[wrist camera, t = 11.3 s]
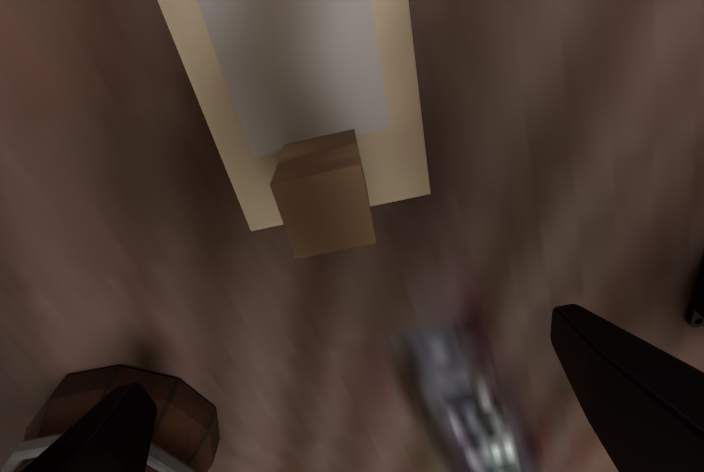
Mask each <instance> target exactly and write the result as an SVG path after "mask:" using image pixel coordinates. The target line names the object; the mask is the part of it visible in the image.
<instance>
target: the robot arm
mask: <svg viewBox="0 0 704 472" xmlns="http://www.w3.org/2000/svg"><path fill="white" fill-rule="evenodd" d="M685 321H686V322H687V323H688V324H690V325H691V326H692V327H699V326H704V263H703V266H702V269H701V272H700V275H699V278H698V281H697V284H696V287H695V290H694V293H693V296H692V300H691V303H690V306H689V309H688V312H687V315H686V318H685ZM551 342H552V345H553V348H554V350H555V352H556V354H557V356H558V358H559V360H560V363H561V365H562V367H563V369H564V371H565V373H566V375H567V378H568V380H569V382H570V384H571V386H572V388H573V390H574V392H575V395H576V397H577V399H578V401H579V403H580V405H581V407H582V409H583V411H584V413H585V415H586V417H587V419H588V421H589V423H590V424H591V426H592V428H593V430H594V431H595V433H596V435H597V436H598V438H599V440H600V441H601V443H602V445H603V446H604V448H605V450H606V451H607V453H608V455H609V456H610V458H611V460H612V461H613V463H614V465H615V466H616V468H617V470H618V471H619V472H704V373H703V372H701V371H700V370H698V369H696V368H694V367H692V366H690V365H689V364H687V363H685V362H683V361H681V360H679V359H677V358H676V357H674V356H672V355H670V354H668V353H666V352H664V351H663V350H661V349H659V348H657V347H655V346H653V345H651V344H650V343H648V342H646V341H644V340H642V339H640V338H639V337H637V336H635V335H633V334H631V333H629V332H627V331H626V330H624V329H622V328H620V327H618V326H616V325H614V324H613V323H611V322H609V321H607V320H605V319H603V318H601V317H600V316H598V315H596V314H594V313H592V312H590V311H588V310H587V309H585V308H583V307H581V306H579V305H576V304H568V305H563V306H557V307H555V308H554V309H553V312H552V322H551ZM156 418H157V406H156V403H155V402H154V400H153V399H152V398H151V396H150V395H149V394H148V392H147V391H146V390H145V388H144V387H143V386H142V385H141V384H140V383H138V382H131V383H125V384H120V385H118V386H116V387H115V388H114V389H113V390H112V391H110V392H109V393H108V394H107V395H106V396H105V397H104V398H103V399H102V400H100V401H99V402H98V403H97V404H96V405H95V406H94V407H93V408H91V409H90V410H89V411H88V412H87V413H86V414H85V415H84V416H82V417H81V418H80V419H79V420H78V421H77V422H76V423H75V424H73V425H72V426H71V427H70V428H69V429H68V430H67V431H66V432H64V433H63V434H62V435H61V436H60V437H59V438H58V439H57V440H56V441H54V442H53V443H52V444H51V445H50V446H49V447H48V448H47V449H45V450H44V451H43V452H42V453H41V454H40V455H39V456H38V457H36V458H35V459H34V460H33V461H32V462H31V463H30V464H29V465H27V466H26V467H25V468H24V469H23V470H22V471H21V472H145V470H146V465H147V460H148V456H149V451H150V446H151V441H152V437H153V432H154V427H155V423H156Z"/></svg>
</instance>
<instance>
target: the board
mask: <svg viewBox="0 0 704 472" xmlns="http://www.w3.org/2000/svg"><path fill="white" fill-rule="evenodd" d="M370 2H371V8H372V15H373V21H374V27H375V33H376V40H377V46H378V52H379V58H380V65H381V71H382V77H383V83H384V90H385V96H386V102H387V108H388V115H389V121H390V127H391V128H388V129H384V130H379V131H375V132H370V133H366V134H361V135H357V136H356V139H357V144H358V148H359V153H360V158H361V163H362V167H363V172H364V177H365V182H366V187H367V192H368V197H369V203H370V206H375V205H380V204H385V203H390V202H394V201H399V200H404V199H409V198H414V197H419V196H423V195H428V194H431V193H430V185H429V176H428V167H427V159H426V150H425V141H424V132H423V124H422V115H421V106H420V98H419V89H418V80H417V72H416V63H415V54H414V45H413V37H412V28H411V19H410V11H409V2H408V0H370ZM158 3H159V5H160V8H161V10H162V13H163V15H164V18H165V20H166V23H167V25H168V28H169V30H170V32H171V35H172V37H173V40H174V42H175V45H176V47H177V50H178V52H179V55H180V57H181V60H182V62H183V65H184V67H185V70H186V72H187V74H188V77H189V79H190V82H191V84H192V87H193V89H194V92H195V94H196V97H197V99H198V102H199V104H200V107H201V109H202V112H203V114H204V116H205V119H206V121H207V124H208V126H209V129H210V131H211V134H212V136H213V139H214V141H215V144H216V146H217V149H218V151H219V154H220V156H221V158H222V161H223V163H224V166H225V168H226V171H227V173H228V176H229V178H230V181H231V183H232V186H233V188H234V191H235V193H236V196H237V198H238V200H239V203H240V205H241V208H242V210H243V213H244V215H245V218H246V220H247V223H248V225H249V228H250V230H251V231H255V230H260V229H265V228H269V227H274V226H279V225H284V224H283V221H282V218H281V216H280V213H279V210H278V207H277V204H276V201H275V198H274V196H273V193H272V190H271V187H270V183H271V180H272V177H273V175H274V172H275V170H276V167H277V164H278V162H279V159H280V156H281V154H282V152H281V153H276V154H272V155H267V156H263V157H259V158H253V155H252V152H251V150H250V147H249V144H248V141H247V139H246V136H245V133H244V130H243V127H242V125H241V122H240V119H239V116H238V114H237V111H236V108H235V105H234V103H233V100H232V97H231V94H230V91H229V89H228V86H227V83H226V80H225V78H224V75H223V72H222V69H221V67H220V64H219V61H218V58H217V55H216V53H215V50H214V47H213V44H212V42H211V39H210V36H209V33H208V30H207V28H206V25H205V22H204V19H203V17H202V14H201V11H200V8H199V6H198V3H197V0H158Z"/></svg>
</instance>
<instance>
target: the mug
mask: <svg viewBox="0 0 704 472" xmlns="http://www.w3.org/2000/svg"><path fill="white" fill-rule="evenodd" d="M131 382H138V383H140V384H141V385H142V386H143V387H144V388H145V390H146V391H147V392H148V394H149V395H150V396H151V398H152V399H153V400H154V402H155V403H156V406H157V418H156V423H155V427H154V432H153V437H152V441H151V446H150V451H149V456H148V460H147V465H146V470H145V472H207V471H208V469H209V468H210V466H211V465H212V463H213V462H214V458H215V454H216V450H217V447H218V443H219V431H218V423H217V415H216V408H215V407H213V406H212V405H211V404H210V403H208V402H207V401H206V400H204V399H203V398H202V397H201V396H199V395H198V394H197V393H196V392H194V391H193V390H192V389H190V388H189V387H188V386H187V385H185V384H184V383H183V382H181V381H180V380H179V379H175V378H171V377H166V376H162V375H158V374H153V373H149V372H144V371H140V370H136V369H131V368H127V367H122V366H116V367H111V368H106V369H100V370H95V371H90V372H85V373H80V374H75V375H70V376H66V377H65V378H64V379H63V381H62V382H61V383H60V384H59V386H58V387H57V388H56V390H55V391H54V392H53V394H52V395H51V396H50V398H49V399H48V400H47V401H46V403H45V404H44V405H43V407H42V408H41V410H40V411H39V412H38V414H37V415H36V416H35V418H34V419H33V421H32V422H31V423H30V425H29V426H28V427H27V430H26V433H25V437H24V440H23V441H22V442H21V443H20V444H19V445H18V446H17V448H16V449H15V450H14V452H13V453H12V454H11V456H10V457H9V458H8V459H7V461H6V462H5V463H4V465H3V466H2V467H1V468H0V472H21V471H22V470H23V469H24V468H25V467H26V466H27V465H29V464H30V463H31V462H32V461H33V460H34V459H35V458H36V457H38V456H39V455H40V454H41V453H42V452H43V451H44V450H45V449H47V448H48V447H49V446H50V445H51V444H52V443H53V442H54V441H56V440H57V439H58V438H59V437H60V436H61V435H62V434H63V433H64V432H66V431H67V430H68V429H69V428H70V427H71V426H72V425H73V424H75V423H76V422H77V421H78V420H79V419H80V418H81V417H82V416H84V415H85V414H86V413H87V412H88V411H89V410H90V409H91V408H93V407H94V406H95V405H96V404H97V403H98V402H99V401H100V400H102V399H103V398H104V397H105V396H106V395H107V394H108V393H109V392H110V391H112V390H113V389H114V388H115V387H116V386H118V385H120V384H125V383H131Z"/></svg>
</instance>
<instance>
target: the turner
mask: <svg viewBox="0 0 704 472" xmlns="http://www.w3.org/2000/svg"><path fill="white" fill-rule="evenodd" d="M197 3H198V6H199V8H200V11H201V14H202V17H203V19H204V22H205V25H206V28H207V30H208V33H209V36H210V39H211V42H212V44H213V47H214V50H215V53H216V55H217V58H218V61H219V64H220V67H221V69H222V72H223V75H224V78H225V80H226V83H227V86H228V89H229V91H230V94H231V97H232V100H233V103H234V105H235V108H236V111H237V114H238V116H239V119H240V122H241V125H242V127H243V130H244V133H245V136H246V139H247V141H248V144H249V147H250V150H251V152H252V155H253V158H259V157H263V156H267V155H272V154H276V153H281V152H282V154H281V156H280V159H279V162H278V164H277V167H276V170H275V172H274V175H273V177H272V180H271V183H270V187H271V190H272V193H273V196H274V198H275V201H276V204H277V207H278V210H279V213H280V216H281V218H282V221H283V224H284V227H285V230H286V233H287V236H288V238H289V241H290V244H291V247H292V250H293V253H294V255H295V258H296V259H301V258H306V257H311V256H316V255H321V254H326V253H330V252H335V251H340V250H345V249H350V248H355V247H360V246H365V245H370V244H375V243H377V241H376V236H375V230H374V225H373V219H372V214H371V208H370V203H369V197H368V192H367V187H366V182H365V177H364V172H363V167H362V163H361V158H360V153H359V148H358V144H357V139H356V136H357V135H361V134H366V133H370V132H375V131H379V130H384V129H388V128H391V127H390V121H389V115H388V108H387V102H386V96H385V90H384V83H383V77H382V71H381V65H380V58H379V52H378V46H377V40H376V33H375V27H374V21H373V15H372V8H371V2H370V0H197Z"/></svg>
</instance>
